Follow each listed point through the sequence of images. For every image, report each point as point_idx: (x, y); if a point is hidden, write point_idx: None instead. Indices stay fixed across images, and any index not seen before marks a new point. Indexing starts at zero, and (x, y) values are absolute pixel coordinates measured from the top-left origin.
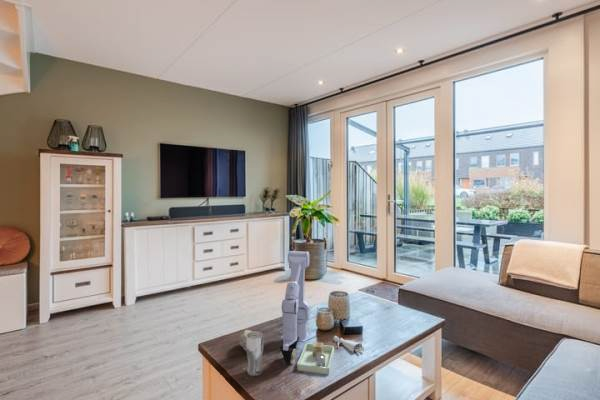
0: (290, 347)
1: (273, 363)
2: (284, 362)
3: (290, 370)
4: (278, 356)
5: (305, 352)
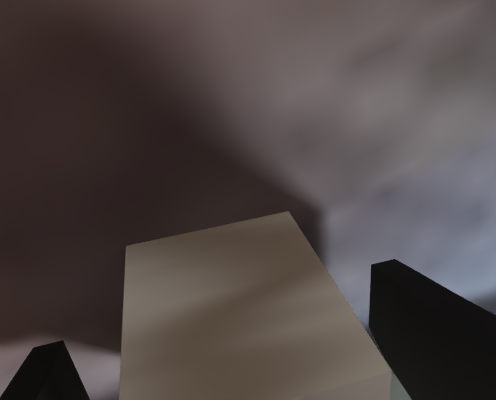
0: (461, 371)
1: (32, 50)
2: (125, 271)
3: None
4: (334, 28)
5: None
